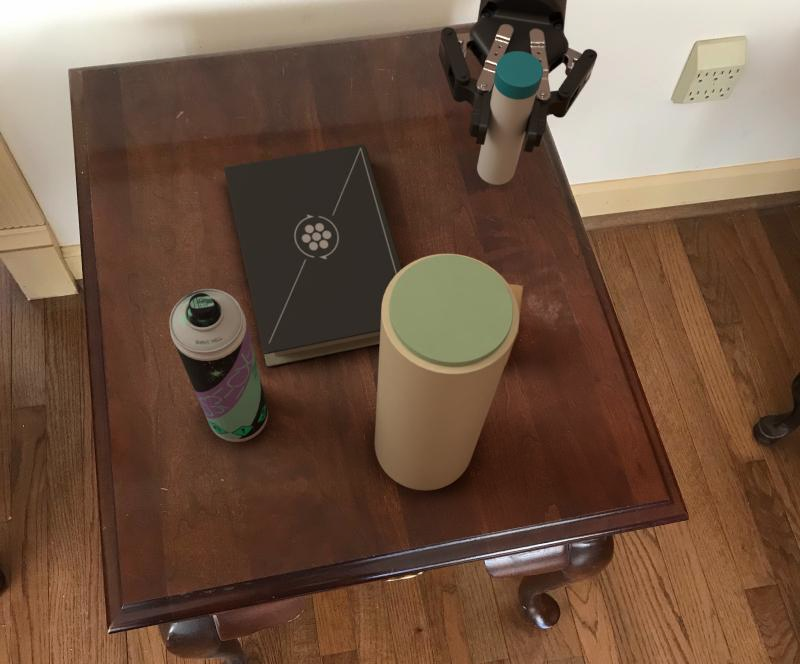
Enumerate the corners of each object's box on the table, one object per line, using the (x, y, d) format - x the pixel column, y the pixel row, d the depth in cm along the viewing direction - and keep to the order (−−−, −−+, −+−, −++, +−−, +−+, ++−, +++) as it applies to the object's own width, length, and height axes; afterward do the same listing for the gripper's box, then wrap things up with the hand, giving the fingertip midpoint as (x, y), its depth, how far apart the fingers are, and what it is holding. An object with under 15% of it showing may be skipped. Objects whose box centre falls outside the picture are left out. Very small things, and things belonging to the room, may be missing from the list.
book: (418, 337, 81) (420, 321, 78) (266, 368, 78) (263, 353, 76) (366, 162, 89) (366, 142, 86) (227, 185, 87) (223, 166, 84)
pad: (447, 238, 56) (447, 233, 56) (536, 312, 54) (538, 307, 54) (363, 310, 54) (363, 306, 53) (454, 390, 52) (455, 386, 51)
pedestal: (421, 380, 79) (446, 230, 57) (493, 443, 76) (547, 312, 55) (354, 443, 76) (352, 310, 54) (425, 510, 74) (454, 401, 52)
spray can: (195, 416, 76) (144, 305, 58) (238, 376, 78) (201, 256, 60) (238, 454, 75) (199, 352, 57) (280, 412, 77) (256, 300, 58)
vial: (473, 178, 76) (494, 50, 72) (512, 184, 76) (535, 56, 72) (475, 194, 66) (500, 47, 62) (520, 201, 66) (548, 54, 62)
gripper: (450, -61, 71) (422, 94, 64) (615, -36, 70) (605, 122, 64) (442, 11, 78) (416, 159, 71) (592, 34, 77) (580, 184, 71)
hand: (506, 140), depth 67 cm, fingers closed on vial, 3 cm apart
